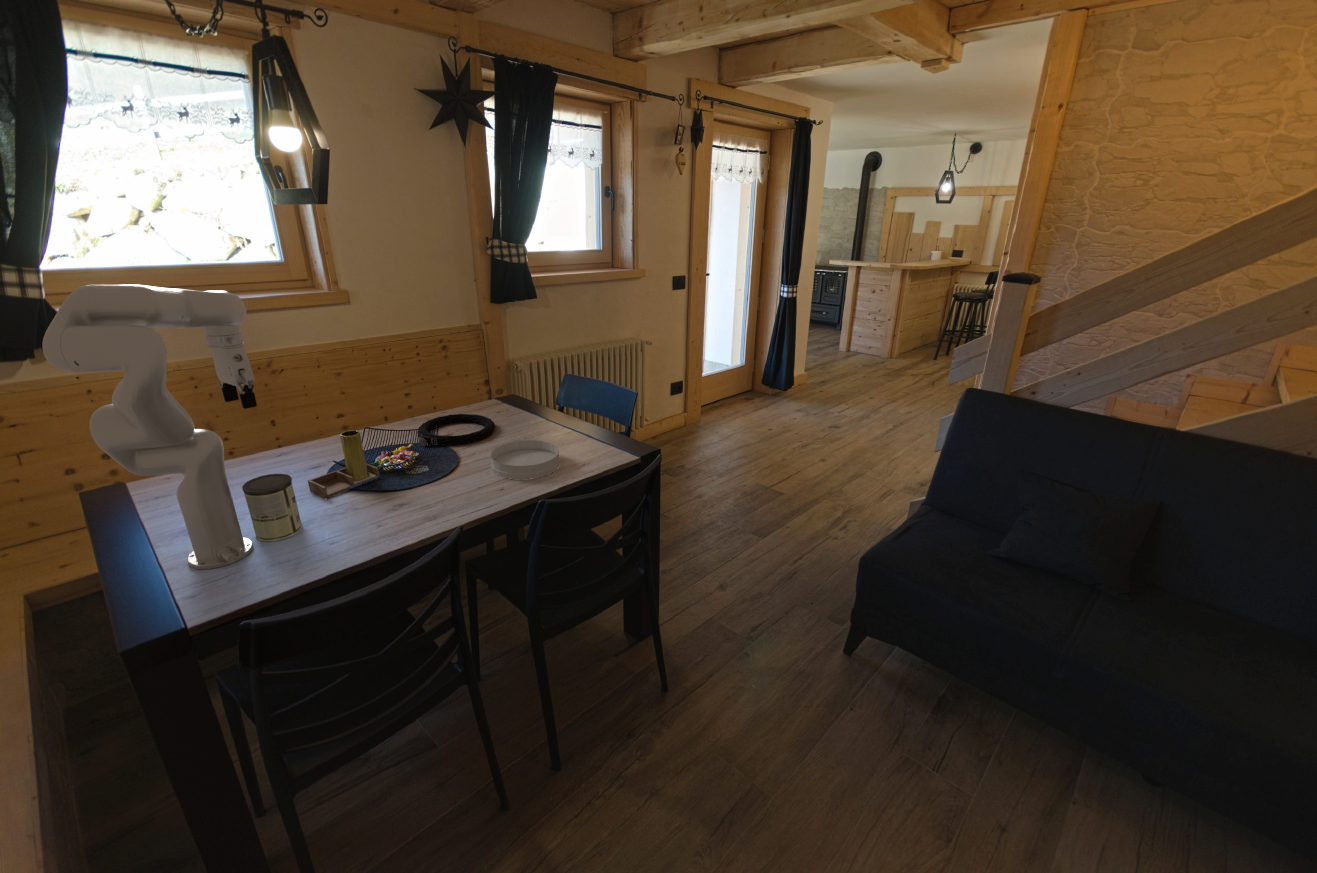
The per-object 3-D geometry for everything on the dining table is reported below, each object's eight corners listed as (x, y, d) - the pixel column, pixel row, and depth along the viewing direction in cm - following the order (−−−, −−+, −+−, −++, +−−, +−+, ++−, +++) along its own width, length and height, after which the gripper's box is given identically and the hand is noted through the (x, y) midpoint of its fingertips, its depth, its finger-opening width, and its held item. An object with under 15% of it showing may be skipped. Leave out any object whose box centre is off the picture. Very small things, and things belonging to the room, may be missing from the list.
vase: (344, 482, 173) (336, 437, 168) (349, 473, 178) (340, 430, 173) (367, 479, 174) (359, 435, 169) (370, 471, 180) (363, 428, 175)
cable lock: (510, 420, 220) (450, 445, 196) (510, 429, 222) (451, 455, 197) (457, 408, 232) (393, 430, 207) (457, 417, 234) (395, 440, 209)
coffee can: (251, 530, 148) (238, 481, 143) (296, 517, 155) (285, 469, 150) (260, 547, 141) (246, 495, 136) (307, 532, 148) (296, 483, 143)
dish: (567, 455, 199) (566, 441, 198) (550, 482, 179) (549, 468, 177) (504, 451, 201) (503, 438, 199) (480, 478, 180) (479, 464, 179)
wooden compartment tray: (379, 478, 178) (378, 467, 177) (326, 498, 165) (323, 487, 164) (363, 471, 183) (361, 461, 181) (309, 491, 169) (307, 480, 168)
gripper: (258, 342, 147) (272, 406, 153) (225, 334, 155) (240, 395, 162) (224, 347, 141) (241, 413, 147) (192, 338, 149) (209, 401, 156)
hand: (241, 404), depth 154 cm, fingers open, 9 cm apart
